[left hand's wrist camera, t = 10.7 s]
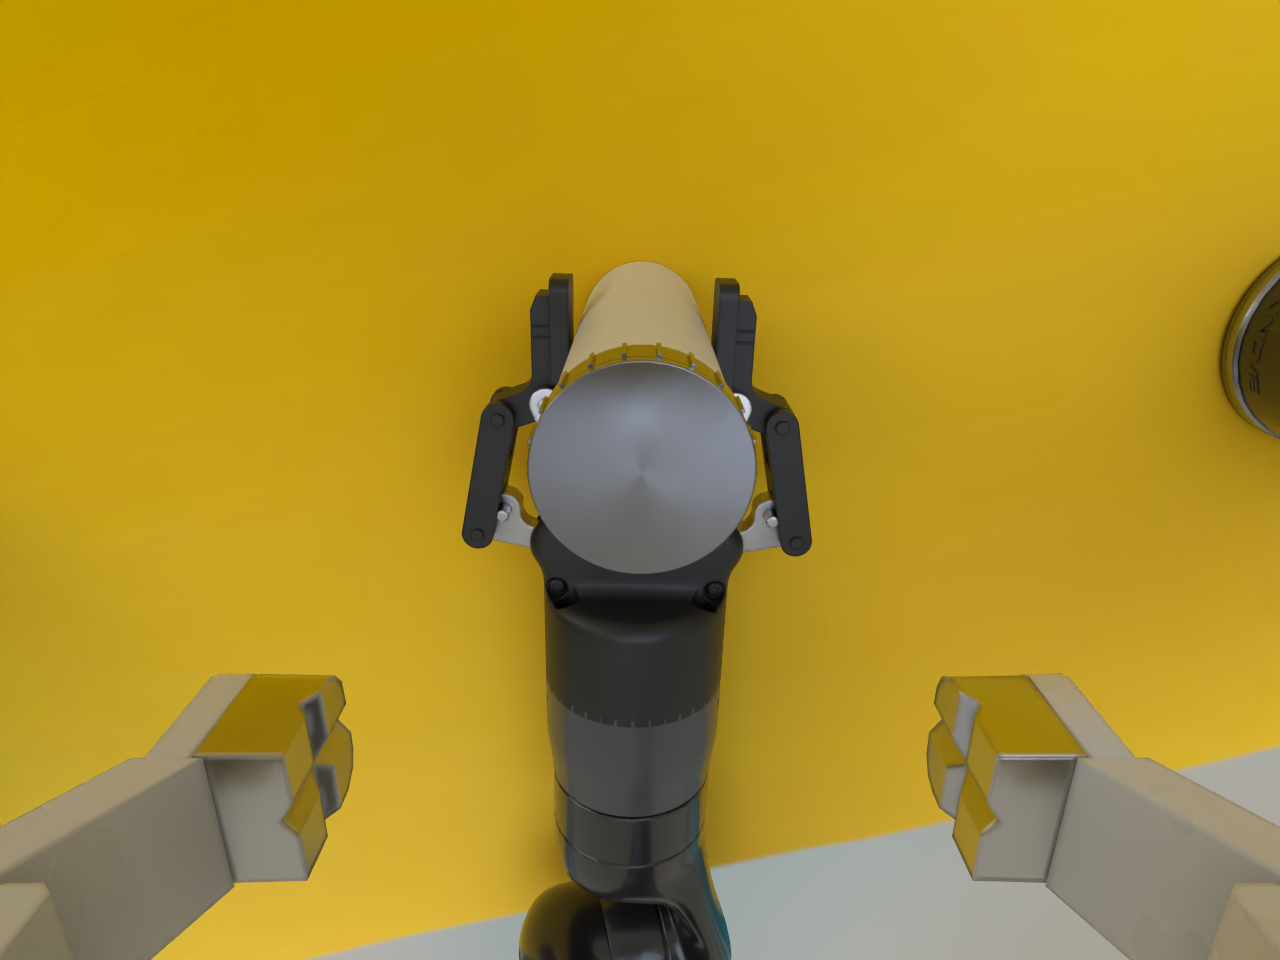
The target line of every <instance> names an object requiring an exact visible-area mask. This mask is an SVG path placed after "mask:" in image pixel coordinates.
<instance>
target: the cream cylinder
mask: <svg viewBox="0 0 1280 960" xmlns="http://www.w3.org/2000/svg"><path fill="white" fill-rule="evenodd" d="M657 342H658V343H661V346H663V347H668V348H671V349H675V350H678V351H681V352H683V353H686V354H689V352H691V353H693V354H694V357H695V358H696V359H698V360H699V361H701V362H703V363H704V364H706V365H707V366H708V367H710V368H711V369H712V370H713V371H715V372H716V371H717V370H718V371H719V372H721V370H720V367H719V364H718V361H717V359H716V356H715V353H714V350H713V348H712V345H711V342H710V339H709V337H708V334H707V331H706V329H705V326H704V323H703V320H702V318H701V315H700V312H699V309H698V307H697V304H696V301H695V298H694V296H693V294H692V292H691V290H690V288H689V287H688V285H687V284H686V282H685V281H684V280H683V279H682V278H681V277H680V276H679V275H678V274H676V273H675V272H674V271H672V270H671V269H669V268H667V267H665V266H663V265H660V264H657V263H653V262H645V261H638V262H630V263H627V264H623V265H621V266H618V267H616V268H614V269H613V270H611V271H609V272H608V273H607V274H606V275H604V276H603V277H602V278H601V279H600V280H599V282H598V283H597V284H596V286H595V287H594V289H593V290H592V292H591V294H590V297H589V299H588V302H587V305H586V307H585V310H584V313H583V316H582V319H581V321H580V324H579V327H578V330H577V332H576V335H575V338H574V341H573V344H572V346H571V349H570V352H569V355H568V357H567V360H566V363H565V366H564V369H563V371H562V374H563V372H564V371H567V372H569V371H570V370H572V369H573V368H574V367H576V366H577V365H578V364H580V363H581V362H583V361H584V360H586V359H588V358H589V355H590V353H592V352H594V353H595V355H596V354H598V353H601V352H603V351H606V350H609V349H613V348H617V347H621V346H622V343H627V346H628V345H656V343H657ZM562 374H561V377H562ZM721 375H722V372H721ZM561 377H560V380H561ZM722 378H723V375H722ZM560 380H559V381H560ZM723 380H724V378H723Z"/></svg>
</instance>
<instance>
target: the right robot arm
mask: <svg viewBox="0 0 1280 960" xmlns="http://www.w3.org/2000/svg"><path fill="white" fill-rule="evenodd" d="M756 318H757V316H756V312H755V309H754V306H753V303H752V301H751V300H750V298H749V297H748V296H747V295H740V288H739V283H738V282H737V281H736V279H734V278H716V280H715V289H714V307H713V324H712V341H711V345H712V348H713V350H714V353H715V356H716V359H717V361H718V364H719V367H720V370H721V372H722V375H723V378H724V381H725V383H726V384H727V385H728V387H729V388H730V389H731V391H732V392H733V393H734V395H735V397H736V396H738V395H739V397H740V399H741V402H742V404H743V406H744V409H745V411H746V412H745V413H744V417H745V420H746V422H747V425H750V426H751V429H752V430H755V431H757V432H760V434H761V441H762V449H763V457H764V464H765V472H766V480H767V487H768V492H762V493H760V494H758V495H757V496H756V497H755V498H754V500H753V502H752V510H751V513H750V515H749V517H748V518H747V519H745V520H744V521H742V522H740V523H739V524H738V526H737V527H736V529H735V530H734V531H733V533H732V534H731V535H730V536H729V537H728V538H727V539H726V540H725V541H724V542H723V543H722V544H721V545H720V546H718V547H717V548H716V549H715V550H714V551H712V552H711V553H709V554H708V555H706V556H705V557H703V558H702V559H700V560H698V561H695V562H693V563H691V564H689V565H687V566H684V567H681V568H678V569H675V570H671V571H666V572H662V573H653V574H631V573H623V572H617V571H613V570H609V569H605V568H603V567H600V566H597V565H595V564H592V563H590V562H588V561H586V560H585V559H583V558H581V557H579V556H578V555H576V554H575V553H573V552H572V551H570V550H569V549H568V548H567V547H565V546H564V545H563V544H562V543H561V542H560V541H559V540H558V539H557V538H556V537H555V536H554V535H553V534H552V533H551V531H550V530H549V529H548V528H547V526H546V525H545V523H544V522H543V520H542V519H541V517H540V515H539V516H538V517H537V518H535V517H532V516H531V515H529V514H528V513H527V512H526V510H525V508H524V504H523V501H524V499H523V495H522V493H521V492H520V491H519V490H518V489H517V488H515V487H513V486H509V485H508V481H509V475H510V470H511V464H512V459H513V453H514V448H515V442H516V437H517V432H518V427H520V426H523V425H526V424H529V423H532V422H535V421H536V423H537V422H538V420H539V417H540V414H539V413H538V411H539V409H540V406H541V404H542V401H543V399H544V397H545V396H547V397H549V395H550V393H551V392H552V390H553V389H554V388H555V387H556V385H557V384H558V383H559V380H560V377H561V374H562V371H563V369H564V366H565V363H566V360H567V357H568V355H569V352H570V349H571V346H572V344H573V341H574V334H573V274H561V273H553V275H552V276H551V277H550V279H549V290H543V289H540V290H539V292H538V293H537V294H536V296H535V299H534V301H533V304H532V307H531V309H530V320H531V359H532V378H531V379H530V380H529V381H528V382H526V383H523V384H521V385H518V386H515V387H501V388H499V389H497V390H496V391H495V393H494V394H493V396H492V398H491V400H490V403H489V404H488V405H487V406H486V407H485V409H484V410H483V412H482V415H481V420H480V426H479V432H478V438H477V444H476V450H475V456H474V462H473V468H472V474H471V481H470V487H469V493H468V499H467V505H466V511H465V517H464V523H463V529H462V537H463V539H464V541H465V542H466V543H467V544H468V545H469V546H471V547H473V548H484V547H486V546H488V545H489V544H490V543H491V542H492V540H496V541H501V542H506V543H511V544H516V545H521V546H526V547H530V548H531V551H532V554H533V556H534V557H535V559H536V560H537V562H538V563H539V565H540V567H541V569H542V572H543V576H544V597H545V643H546V684H547V720H548V732H549V739H550V744H551V749H552V754H553V760H554V795H555V837H556V845H557V850H558V855H559V858H560V861H561V863H562V865H563V868H564V869H565V871H566V872H567V874H568V876H569V877H570V878H571V879H572V880H573V881H570V882H566V883H562V884H559V885H556V886H553V887H551V888H549V889H547V890H545V891H544V892H543V893H541V894H540V895H539V896H538V898H537V899H536V900H535V901H534V902H533V904H532V906H531V907H530V909H529V911H528V913H527V915H526V918H525V920H524V923H523V926H522V930H521V934H520V942H519V960H731V947H730V940H729V935H728V931H727V926H726V922H725V918H724V915H723V912H722V909H721V906H720V903H719V900H718V897H717V894H716V891H715V889H714V885H713V882H712V878H711V874H710V869H709V864H708V858H707V851H706V845H705V835H704V822H705V807H706V793H707V779H708V766H709V761H710V756H711V752H712V748H713V745H714V740H715V735H716V727H717V718H718V705H719V691H720V678H721V665H722V651H723V638H724V624H725V611H726V597H727V584H728V579H729V576H730V574H731V572H732V570H733V569H734V567H735V566H736V564H737V563H738V562H739V560H740V558H741V556H742V553H743V552H748V551H754V550H761V549H767V548H773V547H779V546H781V548H782V550H783V551H784V552H785V553H786V554H788V555H790V556H800V555H803V554H805V553H806V552H807V551H808V550H809V549H810V547H811V544H812V538H811V529H810V520H809V511H808V502H807V493H806V484H805V475H804V466H803V457H802V449H801V440H800V431H799V423H798V420H797V418H796V417H795V415H794V413H793V412H792V410H791V408H790V406H789V405H788V403H787V401H786V400H785V399H784V397H782V396H781V395H778V394H769V393H766V392H763V391H761V390H759V389H756V388H755V387H754V386H753V385H752V370H753V357H754V343H755V331H756ZM1222 375H1223V381H1224V386H1225V389H1226V392H1227V395H1228V397H1229V399H1230V401H1231V403H1232V404H1233V406H1234V408H1235V409H1236V410H1237V412H1238V413H1239V414H1240V415H1241V416H1242V417H1243V418H1244V419H1245V420H1246V421H1247V422H1248V423H1250V424H1251V425H1253V426H1254V427H1256V428H1258V429H1259V430H1261V431H1263V432H1265V433H1268V434H1270V435H1272V436H1274V437H1277V438H1279V439H1280V260H1278V261H1277V262H1276V263H1275V264H1274V265H1272V266H1271V267H1270V268H1269V269H1268V270H1267V271H1266V272H1265V273H1264V274H1263V275H1262V276H1261V277H1260V278H1259V279H1258V280H1257V282H1256V283H1255V284H1254V285H1253V286H1252V288H1251V289H1250V290H1249V291H1248V293H1247V294H1246V296H1245V297H1244V299H1243V300H1242V302H1241V303H1240V305H1239V307H1238V309H1237V311H1236V312H1235V314H1234V316H1233V319H1232V321H1231V323H1230V326H1229V329H1228V332H1227V334H1226V338H1225V342H1224V347H1223V354H1222Z"/></svg>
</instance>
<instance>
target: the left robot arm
mask: <svg viewBox="0 0 1280 960" xmlns="http://www.w3.org/2000/svg"><path fill="white" fill-rule="evenodd" d="M345 704H346V701H345V696H344V691H343V686H342V682H341V681H340V680H339V679H338V678H337V677H336V676H331V675H284V674H259V675H256V674H219V675H216V676H214V677H211V678H210V679H209V680H208V681H207V682H206V684H205V685H204V686H203V687H202V688H201V690H200V691H199V692H198V693H197V695H196V696H195V697H194V698H193V699H192V701H191V702H190V703H189V704H188V705H187V707H186V708H185V709H184V710H183V711H182V713H181V714H180V715H179V716H178V717H177V719H176V720H175V721H174V722H173V724H172V725H171V726H170V727H169V728H168V730H167V731H166V732H165V733H164V734H163V736H162V737H161V738H160V739H159V740H158V742H157V743H156V744H155V745H154V746H153V748H152V749H151V750H150V751H149V753H148V754H147V755H146V756H145V757H144V758H130V759H128V760H126V761H125V762H123V763H121V764H119V765H117V766H115V767H113V768H111V769H109V770H107V771H106V772H104V773H102V774H100V775H98V776H96V777H94V778H92V779H90V780H88V781H87V782H85V783H83V784H81V785H79V786H77V787H75V788H73V789H71V790H69V791H67V792H66V793H64V794H62V795H60V796H58V797H56V798H54V799H52V800H50V801H48V802H47V803H45V804H43V805H41V806H39V807H37V808H35V809H33V810H31V811H29V812H28V813H26V814H24V815H22V816H20V817H18V818H16V819H14V820H12V821H10V822H9V823H7V824H5V825H3V826H1V827H0V960H151V959H152V958H153V957H154V956H155V955H156V954H158V953H159V952H160V951H161V950H162V949H163V948H164V947H166V946H167V945H168V944H169V943H170V942H171V941H173V940H174V939H175V938H176V937H177V936H178V935H179V934H181V933H182V932H183V931H184V930H185V929H186V928H187V927H189V926H190V925H191V924H192V923H193V922H194V921H195V920H197V919H198V918H199V917H200V916H201V915H202V914H203V913H205V912H206V911H207V910H208V909H209V908H210V907H212V906H213V905H214V904H215V903H216V902H217V901H218V900H220V899H221V898H222V897H223V896H224V895H225V894H226V893H228V892H229V891H230V890H231V889H232V888H233V887H234V883H239V882H274V881H307V880H308V878H309V875H310V873H311V871H312V869H313V867H314V865H315V863H316V860H317V858H318V856H319V854H320V852H321V850H322V847H323V845H324V843H325V841H326V839H327V837H328V835H327V829H326V823H325V819H326V818H328V817H329V816H330V815H332V814H333V813H335V812H336V811H337V810H339V809H340V808H341V806H342V804H343V801H344V799H345V797H346V794H347V792H348V789H349V784H350V779H351V774H352V769H353V744H352V737H351V732H350V731H349V730H348V729H347V728H346V727H345V726H344V725H343V724H342V723H341V722H340V721H339V720H338V718H339V716H340V714H341V712H342V710H343V708H344V706H345ZM934 704H935V706H936V708H937V710H938V712H939V714H940V716H941V718H942V720H941V721H940V722H939V723H938V724H937V725H936V726H935V727H934V728H933V729H932V730H931V731H930V732H929V738H928V746H927V766H928V777H929V781H930V784H931V788H932V792H933V794H934V797H935V799H936V801H937V804H938V806H939V808H940V809H941V810H943V811H944V812H945V813H947V814H948V815H950V816H951V817H952V818H954V819H955V823H954V829H953V835H952V837H953V839H954V841H955V843H956V845H957V847H958V850H959V852H960V854H961V856H962V858H963V860H964V862H965V864H966V867H967V869H968V871H969V873H970V875H971V877H972V880H973V881H1005V882H1040V883H1046V887H1047V888H1048V889H1049V890H1051V891H1052V892H1053V893H1054V894H1055V895H1056V896H1057V897H1059V898H1060V899H1061V900H1062V901H1063V902H1064V903H1065V904H1067V905H1068V906H1069V907H1070V908H1071V909H1072V910H1073V911H1075V912H1076V913H1077V914H1078V915H1079V916H1080V917H1081V918H1083V919H1084V920H1085V921H1086V922H1087V923H1088V924H1089V925H1091V926H1092V927H1093V928H1094V929H1095V930H1096V931H1097V932H1099V933H1100V934H1101V935H1102V936H1103V937H1104V938H1105V939H1107V940H1108V941H1109V942H1110V943H1111V944H1112V945H1114V946H1115V947H1116V948H1117V949H1118V950H1119V951H1120V952H1122V953H1123V954H1124V955H1125V956H1126V957H1127V958H1128V959H1130V960H1280V827H1279V826H1277V825H1275V824H1273V823H1271V822H1269V821H1267V820H1265V819H1264V818H1262V817H1260V816H1258V815H1256V814H1254V813H1252V812H1250V811H1248V810H1246V809H1245V808H1243V807H1241V806H1239V805H1237V804H1235V803H1233V802H1231V801H1229V800H1228V799H1226V798H1224V797H1222V796H1220V795H1218V794H1216V793H1214V792H1212V791H1210V790H1209V789H1207V788H1205V787H1203V786H1201V785H1199V784H1197V783H1195V782H1193V781H1191V780H1190V779H1188V778H1186V777H1184V776H1182V775H1180V774H1178V773H1176V772H1174V771H1173V770H1171V769H1169V768H1167V767H1165V766H1163V765H1161V764H1159V763H1157V762H1155V761H1154V760H1152V759H1150V758H1136V757H1135V756H1134V755H1133V754H1132V753H1131V751H1130V750H1129V749H1128V748H1127V747H1126V745H1125V744H1124V743H1123V742H1122V740H1121V739H1120V738H1119V737H1118V736H1117V734H1116V733H1115V732H1114V731H1113V730H1112V728H1111V727H1110V726H1109V725H1108V724H1107V722H1106V721H1105V720H1104V719H1103V718H1102V716H1101V715H1100V714H1099V713H1098V712H1097V710H1096V709H1095V708H1094V707H1093V706H1092V704H1091V703H1090V702H1089V701H1088V699H1087V698H1086V697H1085V696H1084V695H1083V693H1082V692H1081V691H1080V690H1079V689H1078V687H1077V686H1076V685H1075V684H1074V683H1073V681H1072V680H1071V679H1070V678H1069V677H1067V676H1065V675H1063V674H1061V673H1055V674H1023V675H1020V676H943V677H941V679H940V681H939V683H938V686H937V689H936V695H935V700H934Z"/></svg>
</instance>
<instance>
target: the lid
mask: <svg viewBox="0 0 1280 960" xmlns="http://www.w3.org/2000/svg"><path fill="white" fill-rule="evenodd" d="M745 412H746V411H745V409H744V406H743V404H742V402H741V399H740V397H739V395H738V396H736V397H735V395H734V393H733V392H732V391H731V389H730V388H729V387H728V385H727V384H726V383H725V381H724V380H723V378H722V375H721V372H719V371H718V370H717V371H716V372H715V371H713V370H712V369H711V368H710V367H708V366H707V365H706V364H704V363H703V362H701V361H699V360H698V359H696V358H695V357H694V354H693V353H691V352H689V354H686V353H683V352H681V351H678V350H675V349H671V348H668V347H663V346H661V343H658V342H657V343H656V345H628V346H627V343H622V346H621V347H617V348H613V349H609V350H606V351H603V352H601V353H598V354H596V355H595V353H594V352H592V353H590V355H589V358H588V359H586V360H584V361H583V362H581V363H580V364H578V365H577V366H576V367H574V368H573V369H572V370H570V371H569V372H567V371H564V372H563V374H562V377H561V380H560V381H559V383H558V384H557V385H556V387H555V388H554V389H553V390H552V392H551V393H550V395H549V397H547V396H545V397H544V399H543V401H542V404H541V406H540V409H539V411H538V413H539V414H540V417H539V420H538V422H537V425H536V426H535V425H534V426H533V429H532V432H531V434H530V437H529V439H528V443H527V444H529V445H530V447H529V451H528V462H527V470H528V471H527V476H528V482H529V487H530V492H531V495H532V498H533V501H534V504H535V507H536V509H537V511H538V513H539V515H540V517H541V519H542V520H543V522H544V523H545V525H546V526H547V528H548V529H549V530H550V531H551V533H552V534H553V535H554V536H555V537H556V538H557V539H558V540H559V541H560V542H561V543H562V544H563V545H564V546H565V547H567V548H568V549H569V550H570V551H572V552H573V553H575V554H576V555H578V556H579V557H581V558H583V559H585V560H586V561H588V562H590V563H592V564H595V565H597V566H600V567H603V568H605V569H609V570H613V571H617V572H623V573H631V574H653V573H662V572H666V571H671V570H675V569H678V568H681V567H684V566H687V565H689V564H691V563H693V562H695V561H698V560H700V559H702V558H703V557H705V556H706V555H708V554H709V553H711V552H712V551H714V550H715V549H716V548H717V547H718V546H720V545H721V544H722V543H723V542H724V541H725V540H726V539H727V538H728V537H729V536H730V535H731V534H732V533H733V531H734V530H735V529H736V527H737V526H738V524H739V523H740V522H741V520H742V519H743V517H744V515H745V513H746V511H747V509H748V507H749V504H750V501H751V498H752V496H753V492H754V487H755V482H756V476H757V463H756V451H755V447H754V444H756V439H755V437H754V434H753V432H752V429H751V426H750V425H747V422H746V420H745V417H744V413H745Z"/></svg>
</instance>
